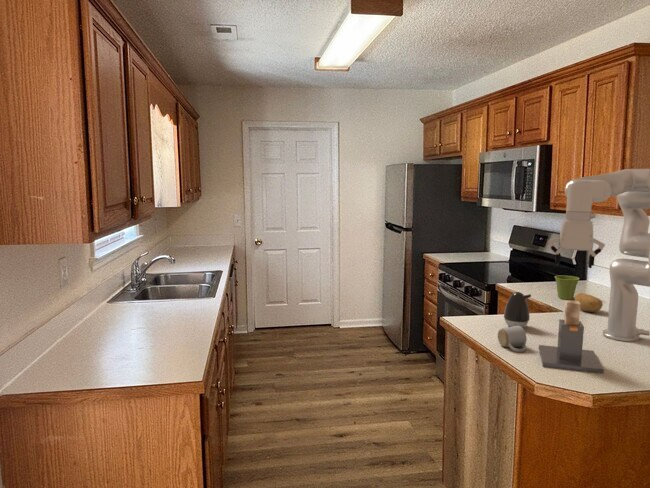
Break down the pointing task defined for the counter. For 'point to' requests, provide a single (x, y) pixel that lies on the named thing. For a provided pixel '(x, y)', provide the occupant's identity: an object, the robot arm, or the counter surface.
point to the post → (572, 312)
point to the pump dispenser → (517, 310)
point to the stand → (570, 351)
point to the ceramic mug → (512, 338)
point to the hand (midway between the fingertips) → (573, 266)
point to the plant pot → (566, 286)
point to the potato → (588, 302)
